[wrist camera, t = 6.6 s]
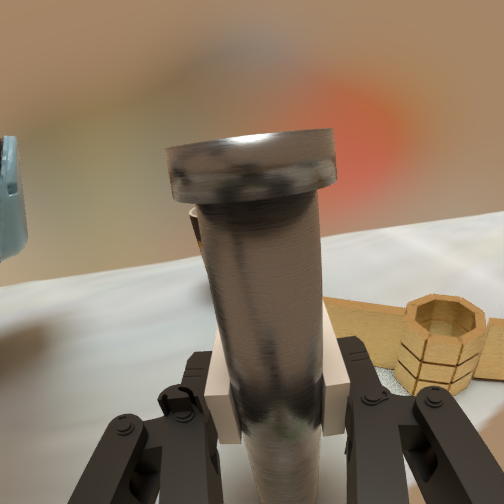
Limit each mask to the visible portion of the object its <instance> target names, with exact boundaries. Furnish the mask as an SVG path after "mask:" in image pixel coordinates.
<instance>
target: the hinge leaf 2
mask: <svg viewBox="0 0 504 504" xmlns="http://www.w3.org/2000/svg"><path fill="white" fill-rule="evenodd" d="M418 324H420V325H421V326H422V327H423V328H425V329H426V330H427V331H428V332H430V333H431V334H434V335H442V336H450V337H460V336H462V335H464V334H466V333H468V332H469V330H467V329H466V328H465V327H463V326H462V325H460V324H459V323H458V322H456V321H455V320H450V319H442V318H433V317H432V318H429V319H427V320H425V321H422V322H420V323H418ZM486 329H487V332H486V335H485V338H484V342H483V345H482V348H481V350H480V352H478V353H477V354H475V355H474V356H472V357H470V358H469V359H467V360H466V361H464V362H462V363H461V364H459V365H458V364H457V363H456V365H450V364H442V363H434V362H427V361H423V359H421V360H420V359H419V358H418V357H417V356H416V355H415V354H414V353H413V352H412V351H410V350H409V349H408V348H407V347H406V346H405V345H404V344H403V343H402V342H401V340H400V344H399V350H398V356H397V357H398V360H399V361H400V362H401V363H402V364H403V365H404V366H405V367H406V368H407V369H408V370H409V371H410V372H411V373H412V374H413V375H414V376H415V377H418V376H419V379H424V380H431V381H438V382H446V383H450V381H451V382H454V381H456V380H457V379H459V378H461V377H462V376H464V375H466V374H467V373H469V372H470V371H472V370H473V369H474V371H473V377H477V378H488V379H499V380H504V319H497V318H489V321H488V324H487V328H486Z"/></svg>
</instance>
